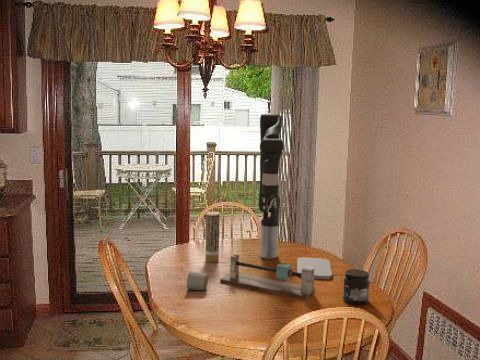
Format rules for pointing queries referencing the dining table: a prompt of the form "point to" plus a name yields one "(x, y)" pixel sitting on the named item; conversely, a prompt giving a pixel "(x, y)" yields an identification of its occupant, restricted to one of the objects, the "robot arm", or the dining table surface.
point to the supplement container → (356, 287)
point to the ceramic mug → (197, 281)
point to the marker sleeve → (283, 271)
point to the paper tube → (212, 236)
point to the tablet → (319, 264)
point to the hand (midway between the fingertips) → (269, 218)
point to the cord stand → (271, 280)
